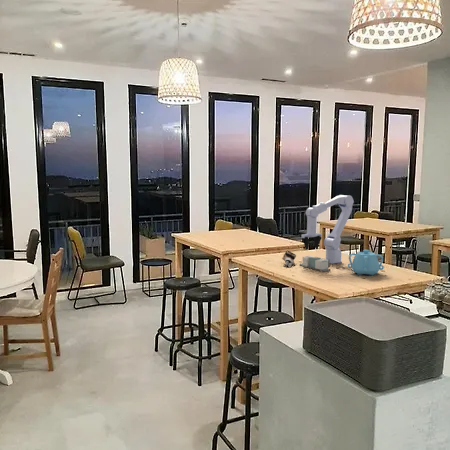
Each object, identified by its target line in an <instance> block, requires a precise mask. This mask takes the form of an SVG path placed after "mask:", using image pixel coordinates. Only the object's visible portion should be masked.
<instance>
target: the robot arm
mask: <svg viewBox="0 0 450 450" xmlns="http://www.w3.org/2000/svg"><path fill="white" fill-rule="evenodd" d="M354 203H355V201H354V198H353V196H352V195H350V194H349V195H344V194H339V195H336V196H335V197H333V198H331V199H329V200H328V201H326V202H323V201H322V202H321V201H320V202H319V203H318V204H316V205H312V207H308V208H306V210H305V216H306V221H307V222H306V233H304V234H301V240H302V242H303V244H304V245H303V246H304V249H305V250H309V244H310V240H311V239H310V238H313V242H314V249H319V244H320V242H321V240H322V235H323V234H322V233H320V232H317V230H318V229H317V225H318V224H317V221H318V219H317V217H319V215H320V214H322V213H325V212H326V211H327V210H328V208H330V207H333V206H335V205H337V204H338V207H340V209H341V212H340V214H339V217H338V219H337V221H336V223H335V225H334V227H333V229H332V231H331V232H329V234H327V236H326V237H325V238H324V240H323V244H324V246H325V259H330V261H329V265H330V264H331V265H332V264H337V263H338V264H339V263H342V262H343V261H342V251H341V249H340V246H341V241H342V238H341V234H342V232H343V231H344V228H345V227H346V224H347V222H348V220H349V218H350V216H351V214H352V210H353V205H354Z"/></svg>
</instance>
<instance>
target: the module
mask: <svg viewBox="0 0 450 450" xmlns="http://www.w3.org/2000/svg"><path fill="white" fill-rule="evenodd" d="M317 259H322V257H318V256H313V257H310V266H311V267H314V268H315V260H317Z"/></svg>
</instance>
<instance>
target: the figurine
mask: <svg viewBox="0 0 450 450" xmlns="http://www.w3.org/2000/svg"><path fill="white" fill-rule="evenodd" d="M296 257H297V255H296V254H295V253H293V252H291V251H290V250H286V251H285V252H284V254H283V257H282V258H281V259H282V260H283V261H284V265H285V266H288V268H291V267H292V266H294V265H295V266H296V262H295V261H294V260H295V259H296Z"/></svg>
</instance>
